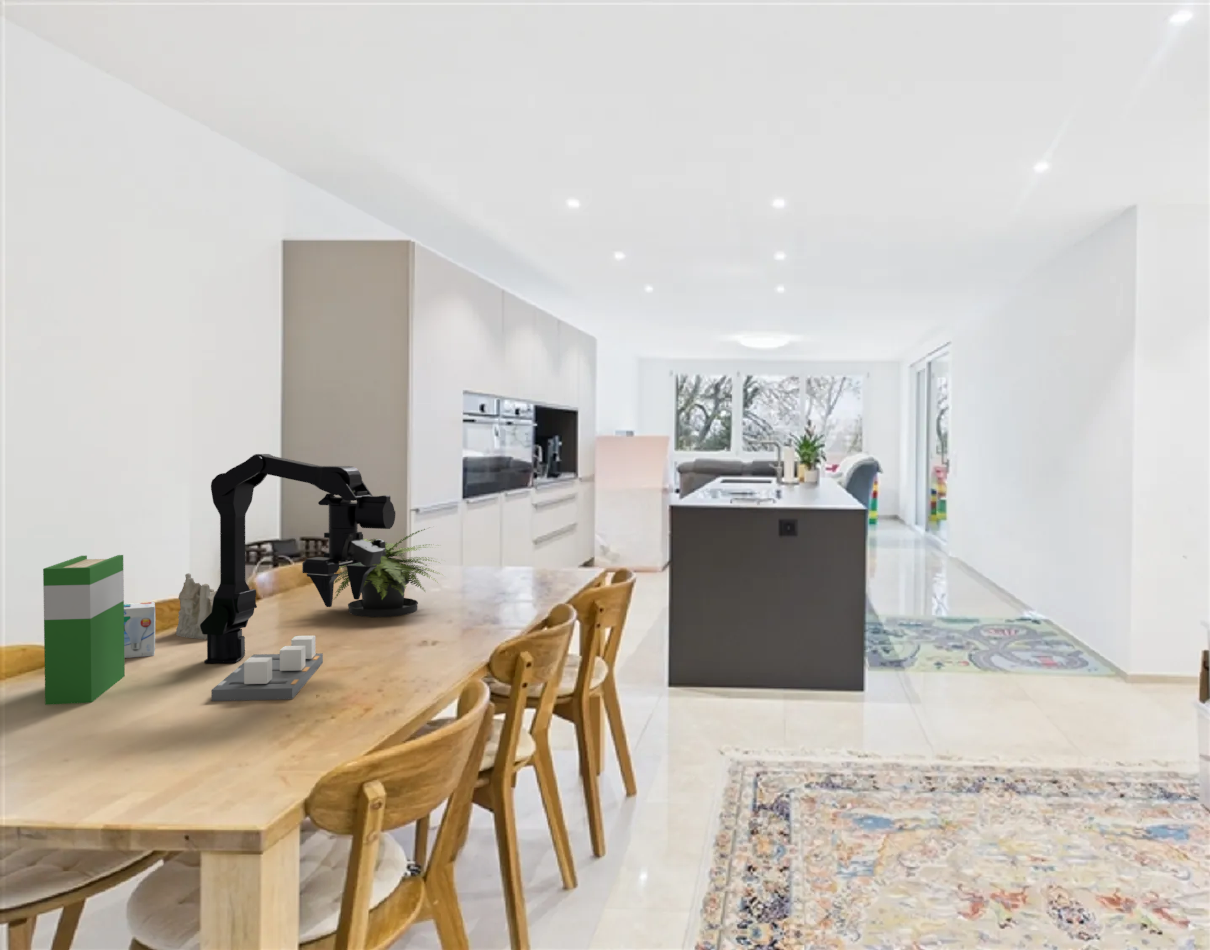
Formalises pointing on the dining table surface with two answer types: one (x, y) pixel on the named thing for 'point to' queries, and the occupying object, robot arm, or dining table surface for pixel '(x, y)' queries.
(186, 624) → the grey rough lump
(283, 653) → the handle mid
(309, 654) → the handle far
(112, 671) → the hardback book
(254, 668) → the handle
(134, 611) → the light bulb box
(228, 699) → the breaker panel
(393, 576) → the fern plant
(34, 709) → the dining table surface
